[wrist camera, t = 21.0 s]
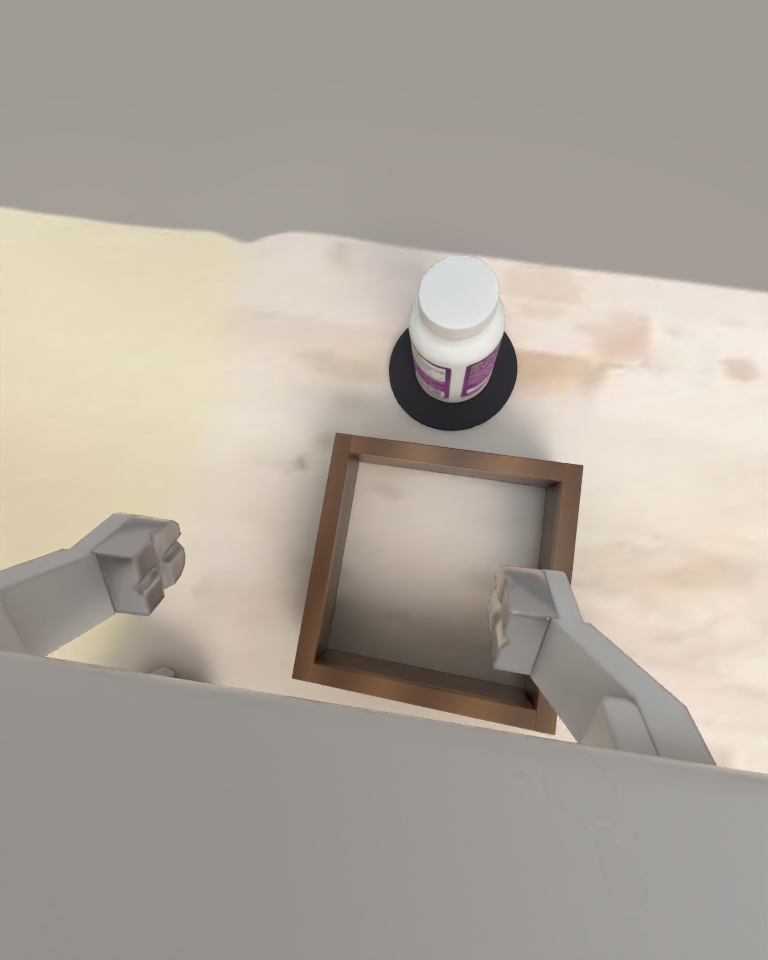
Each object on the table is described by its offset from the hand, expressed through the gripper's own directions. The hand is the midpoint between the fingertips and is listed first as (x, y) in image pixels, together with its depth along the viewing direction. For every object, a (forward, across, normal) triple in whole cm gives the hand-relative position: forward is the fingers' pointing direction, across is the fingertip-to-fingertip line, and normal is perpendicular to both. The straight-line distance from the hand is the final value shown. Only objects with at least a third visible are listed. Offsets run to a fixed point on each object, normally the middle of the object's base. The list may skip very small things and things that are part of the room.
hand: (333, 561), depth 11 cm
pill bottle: (+23, +3, -1) cm, 23 cm away
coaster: (+23, +3, -1) cm, 23 cm away
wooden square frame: (+15, +4, -12) cm, 19 cm away
